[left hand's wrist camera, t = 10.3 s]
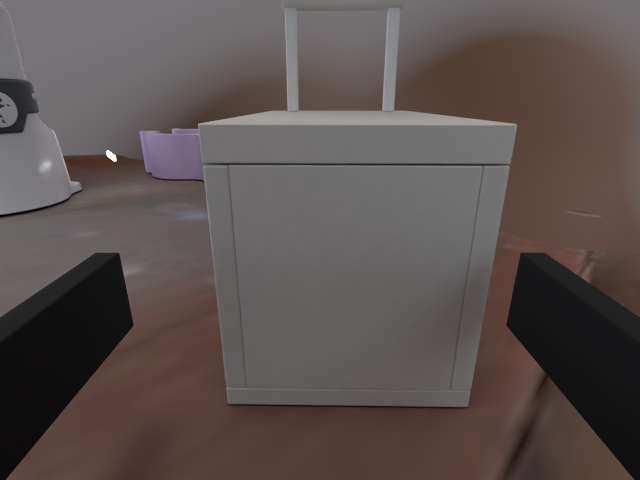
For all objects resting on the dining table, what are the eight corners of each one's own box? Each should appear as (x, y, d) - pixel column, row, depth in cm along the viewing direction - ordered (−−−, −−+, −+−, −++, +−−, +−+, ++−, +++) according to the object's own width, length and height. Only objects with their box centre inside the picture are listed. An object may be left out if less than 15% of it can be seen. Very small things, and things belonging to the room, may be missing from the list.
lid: (272, 128, 29) (267, -14, 26) (405, 128, 29) (416, -14, 25) (201, 163, 12) (160, -218, 9) (510, 164, 12) (578, -224, 9)
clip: (268, 173, 65) (266, 132, 63) (214, 186, 55) (209, 138, 53) (190, 164, 75) (186, 128, 73) (132, 173, 65) (125, 132, 63)
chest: (277, 252, 32) (272, 129, 28) (397, 253, 32) (406, 129, 28) (227, 404, 16) (201, 165, 12) (468, 407, 16) (510, 166, 12)
